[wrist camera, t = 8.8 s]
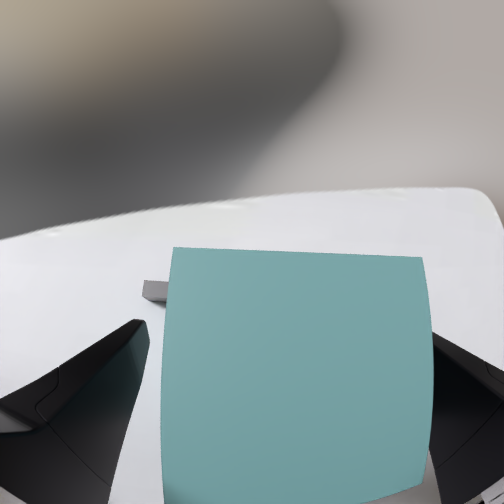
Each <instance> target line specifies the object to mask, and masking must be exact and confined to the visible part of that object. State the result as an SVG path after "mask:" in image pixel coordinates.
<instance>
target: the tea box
mask: <svg viewBox="0 0 504 504" xmlns="http://www.w3.org/2000/svg"><path fill="white" fill-rule="evenodd" d="M432 407H433V340H432V326H431V315H430V306H429V298H428V290H427V283H426V277H425V271H424V265H423V260H422V257H405V256H381V255H357V254H333V253H309V252H284V251H259V250H234V249H208V248H182V247H173V254H172V261H171V269H170V277H169V285H168V294H167V304H166V314H165V326H164V339H163V354H162V374H161V462H162V480H163V493H164V504H362V503H366V502H370V501H373V500H377V499H380V498H383V497H386V496H390V495H393V494H395V493H398V492H401V491H404V490H406V489H409V488H412V487H414V486H417V485H419V484H422V481H423V476H424V471H425V466H426V460H427V454H428V447H429V440H430V431H431V421H432Z"/></svg>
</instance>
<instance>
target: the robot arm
mask: <svg viewBox="0 0 504 504" xmlns="http://www.w3.org/2000/svg"><path fill="white" fill-rule="evenodd" d="M432 340H433V407H432V421H431V431H430V440H429V451H430V454H431V458H432V462H433V466H434V470H435V475H436V479H437V484H438V488H439V493H440V498H441V503H442V504H464V503H466V502H468V501H469V500H471V499H473V498H474V497H476V496H477V495H479V494H480V493H481V496H482V498H483V500H481V501H480V502H478V503H477V504H504V371H502V370H500V369H498V368H497V367H495V366H493V365H491V364H489V363H488V362H486V361H484V360H482V359H480V358H479V357H477V356H475V355H473V354H471V353H470V352H468V351H466V350H464V349H463V348H461V347H459V346H457V345H455V344H454V343H452V342H450V341H448V340H446V339H444V338H443V337H441V336H439V335H437V334H435V333H434V332H432ZM149 345H150V339H149V334H148V330H147V325H146V322H145V321H144V320H139V319H133V320H131V321H129V322H128V323H126V324H124V325H123V326H121V327H120V328H118V329H117V330H115V331H113V332H112V333H110V334H109V335H107V336H105V337H104V338H102V339H101V340H99V341H98V342H96V343H94V344H93V345H91V346H90V347H88V348H87V349H85V350H83V351H82V352H80V353H79V354H77V355H76V356H74V357H72V358H71V359H69V360H68V361H66V362H65V363H63V364H61V365H60V366H59V367H57V368H55V369H54V370H52V371H50V372H49V373H47V374H46V375H44V376H42V377H41V378H39V379H37V380H35V381H34V382H32V383H30V384H28V385H26V386H24V387H22V388H20V389H18V390H16V391H14V392H12V393H10V394H8V395H7V396H5V397H3V398H0V504H108V500H109V496H110V492H111V487H112V483H113V479H114V475H115V471H116V467H117V463H118V459H119V455H120V452H121V448H122V445H123V441H124V438H125V434H126V431H127V427H128V424H129V421H130V418H131V414H132V411H133V408H134V405H135V402H136V398H137V395H138V392H139V389H140V386H141V383H142V378H143V373H144V369H145V364H146V359H147V355H148V350H149Z"/></svg>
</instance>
